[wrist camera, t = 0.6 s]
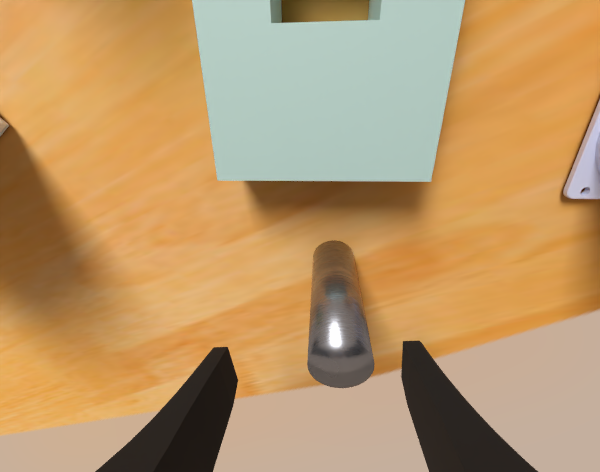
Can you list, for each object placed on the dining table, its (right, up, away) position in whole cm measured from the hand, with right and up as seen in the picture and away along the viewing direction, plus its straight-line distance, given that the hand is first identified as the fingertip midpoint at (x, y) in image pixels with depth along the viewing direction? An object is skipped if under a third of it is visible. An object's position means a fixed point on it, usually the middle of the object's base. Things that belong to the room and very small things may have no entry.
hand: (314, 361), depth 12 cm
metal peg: (+2, +3, +10) cm, 10 cm away
